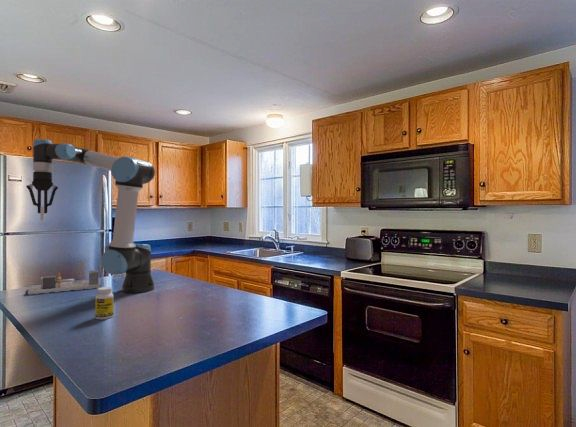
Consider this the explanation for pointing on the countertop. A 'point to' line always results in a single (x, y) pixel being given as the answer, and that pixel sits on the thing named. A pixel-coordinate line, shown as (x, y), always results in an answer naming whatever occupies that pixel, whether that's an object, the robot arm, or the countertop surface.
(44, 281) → the grey block with rod
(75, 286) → the gauge board
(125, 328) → the countertop surface
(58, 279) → the orange peg piece
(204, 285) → the countertop surface
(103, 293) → the pill bottle
